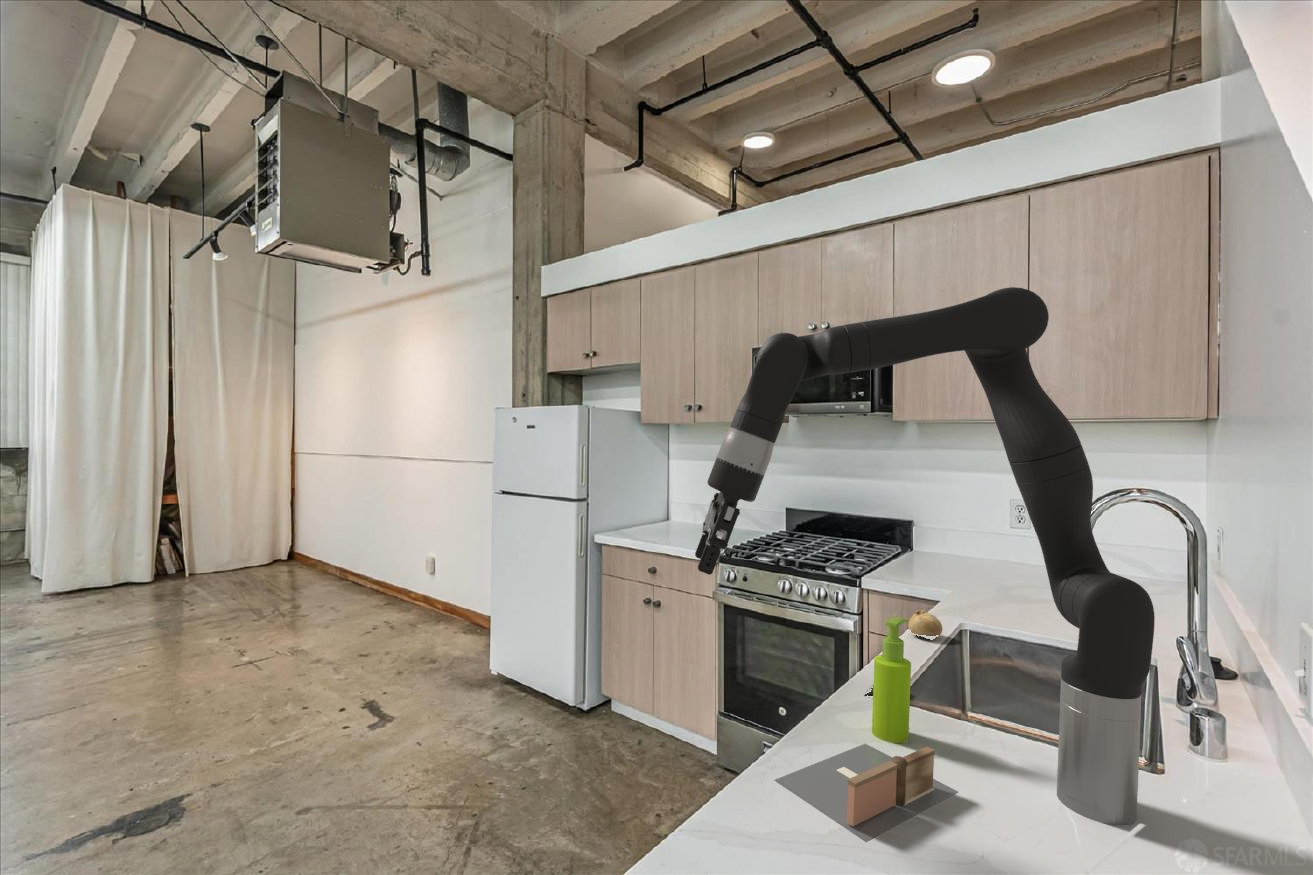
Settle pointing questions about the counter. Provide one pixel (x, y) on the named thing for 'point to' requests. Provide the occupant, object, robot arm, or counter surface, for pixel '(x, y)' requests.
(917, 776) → the fixed fence section
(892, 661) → the soap dispenser
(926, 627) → the onion
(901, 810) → the card
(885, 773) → the hinged fence section
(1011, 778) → the counter surface
